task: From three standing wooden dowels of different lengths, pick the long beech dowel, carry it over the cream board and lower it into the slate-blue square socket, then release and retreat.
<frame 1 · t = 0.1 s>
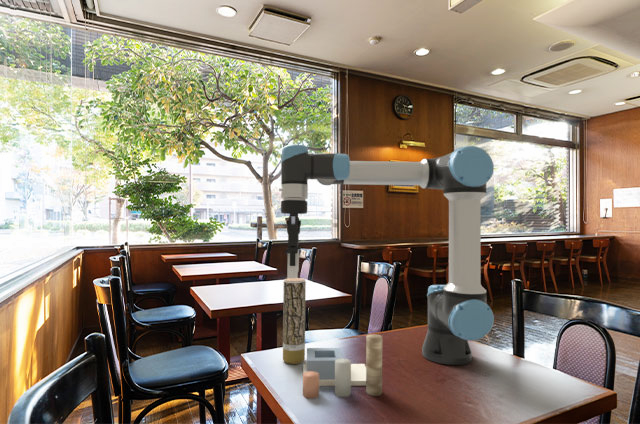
hand: (293, 274, 107), 28 cm above the table, fingers open, 13 cm apart
medium dowel: (342, 393, 95), on the table
long dowel: (374, 392, 96), on the table
short dowel: (310, 394, 94), on the table
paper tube: (293, 361, 117), on the table
socket board: (335, 376, 105), on the table
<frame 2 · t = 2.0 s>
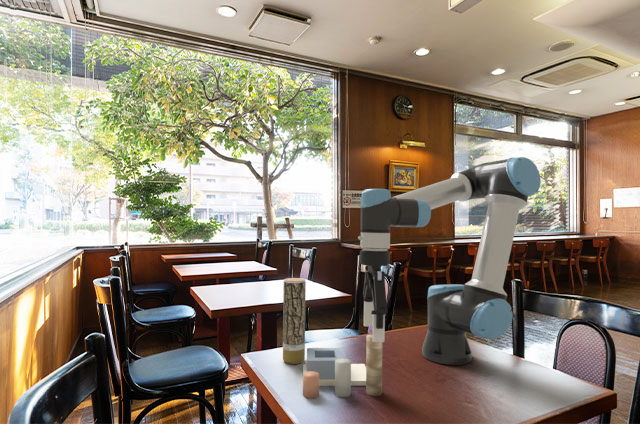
hand: (373, 333, 96), 15 cm above the table, fingers open, 13 cm apart
nothing on the table moved.
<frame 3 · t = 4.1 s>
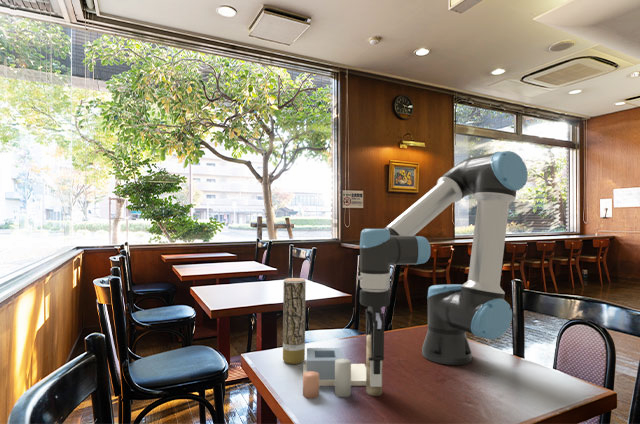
hand: (374, 381, 96), 3 cm above the table, fingers closed on long dowel, 4 cm apart
long dowel: (374, 392, 96), on the table, touching gripper
everything else where it was.
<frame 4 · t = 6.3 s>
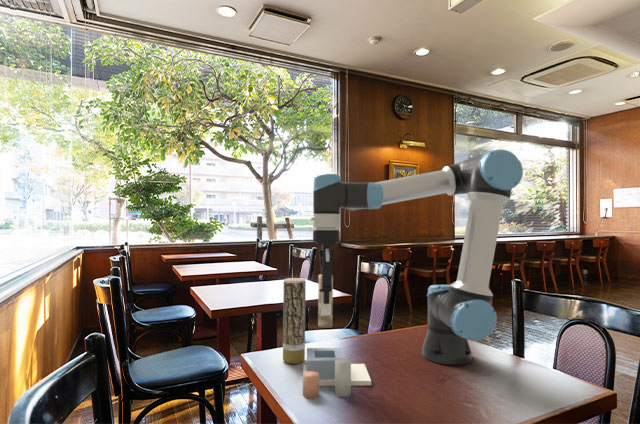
hand: (325, 312, 106), 18 cm above the table, fingers closed on long dowel, 4 cm apart
long dowel: (325, 325, 105), point 14 cm above the table, touching gripper
everything else where it was.
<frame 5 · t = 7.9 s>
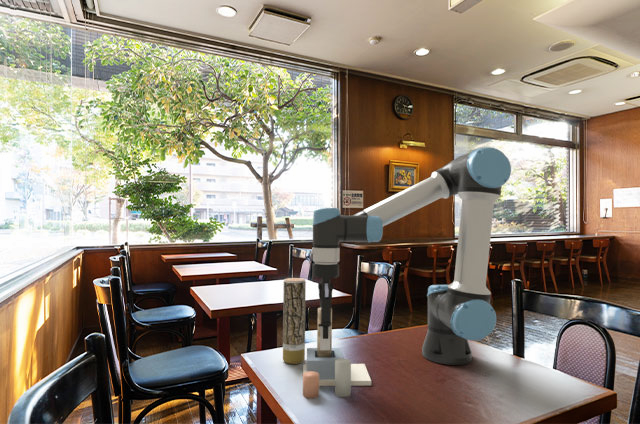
hand: (324, 346, 105), 8 cm above the table, fingers closed on long dowel, 4 cm apart
long dowel: (324, 359, 105), point 5 cm above the table, touching gripper
everything else where it was.
when the fingers open (7 cm above the table, at t = 8.8 s): long dowel drops 2 cm, resting on socket board.
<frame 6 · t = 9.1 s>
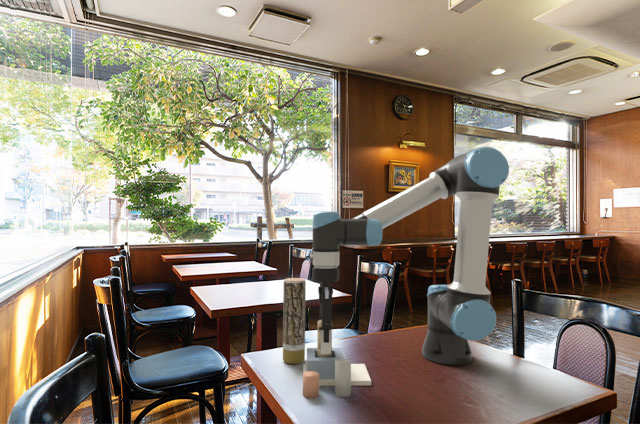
hand: (325, 348, 105), 8 cm above the table, fingers open, 8 cm apart
long dowel: (324, 371, 105), point 1 cm above the table, touching socket board
everything else where it was.
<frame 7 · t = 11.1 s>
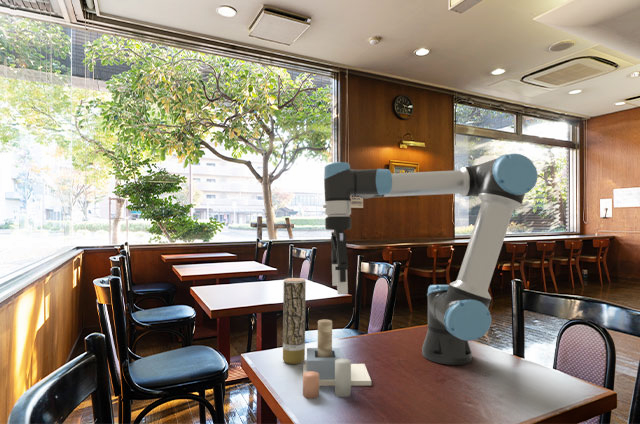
hand: (339, 289, 109), 23 cm above the table, fingers open, 13 cm apart
nothing on the table moved.
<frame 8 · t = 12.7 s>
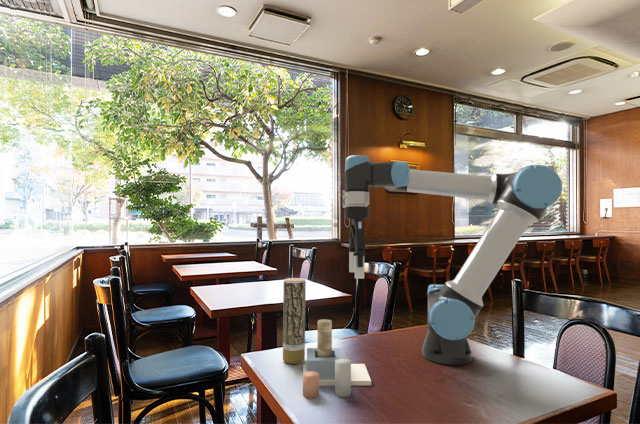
hand: (356, 275, 116), 27 cm above the table, fingers open, 13 cm apart
nothing on the table moved.
at the end: long dowel 0.1 cm from the target spot on the socket board, point 1.2 cm above the socket board's base; long dowel tilted 1°; the gripper is holding nothing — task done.
